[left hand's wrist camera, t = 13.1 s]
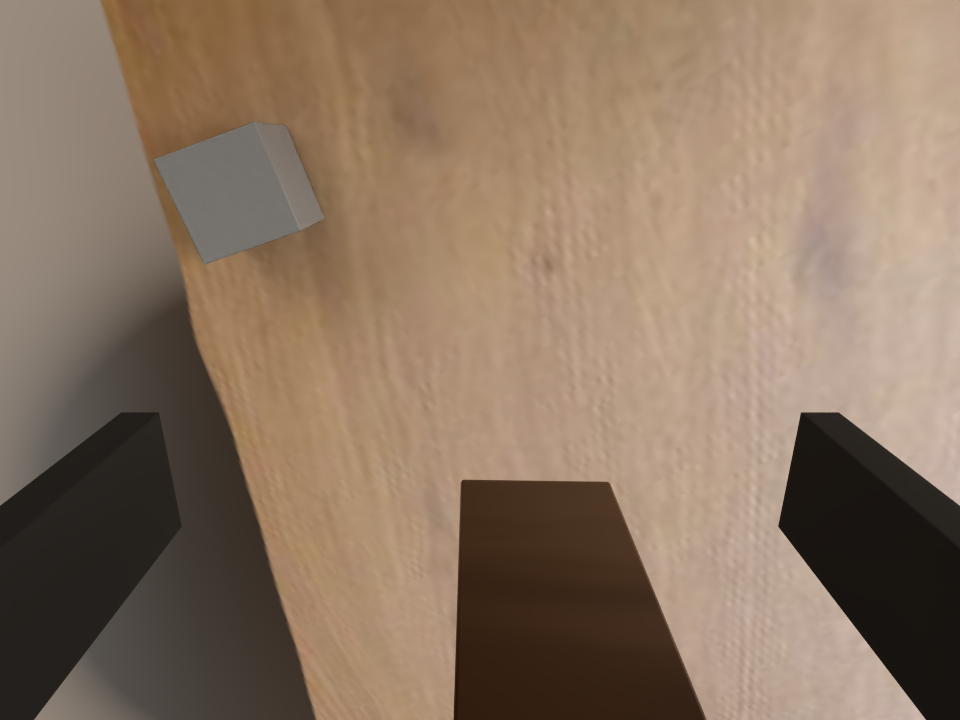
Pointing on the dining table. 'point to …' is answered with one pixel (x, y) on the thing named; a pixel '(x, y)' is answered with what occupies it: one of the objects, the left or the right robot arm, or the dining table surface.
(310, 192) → the grey block
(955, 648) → the left robot arm
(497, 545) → the plank
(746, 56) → the dining table surface
